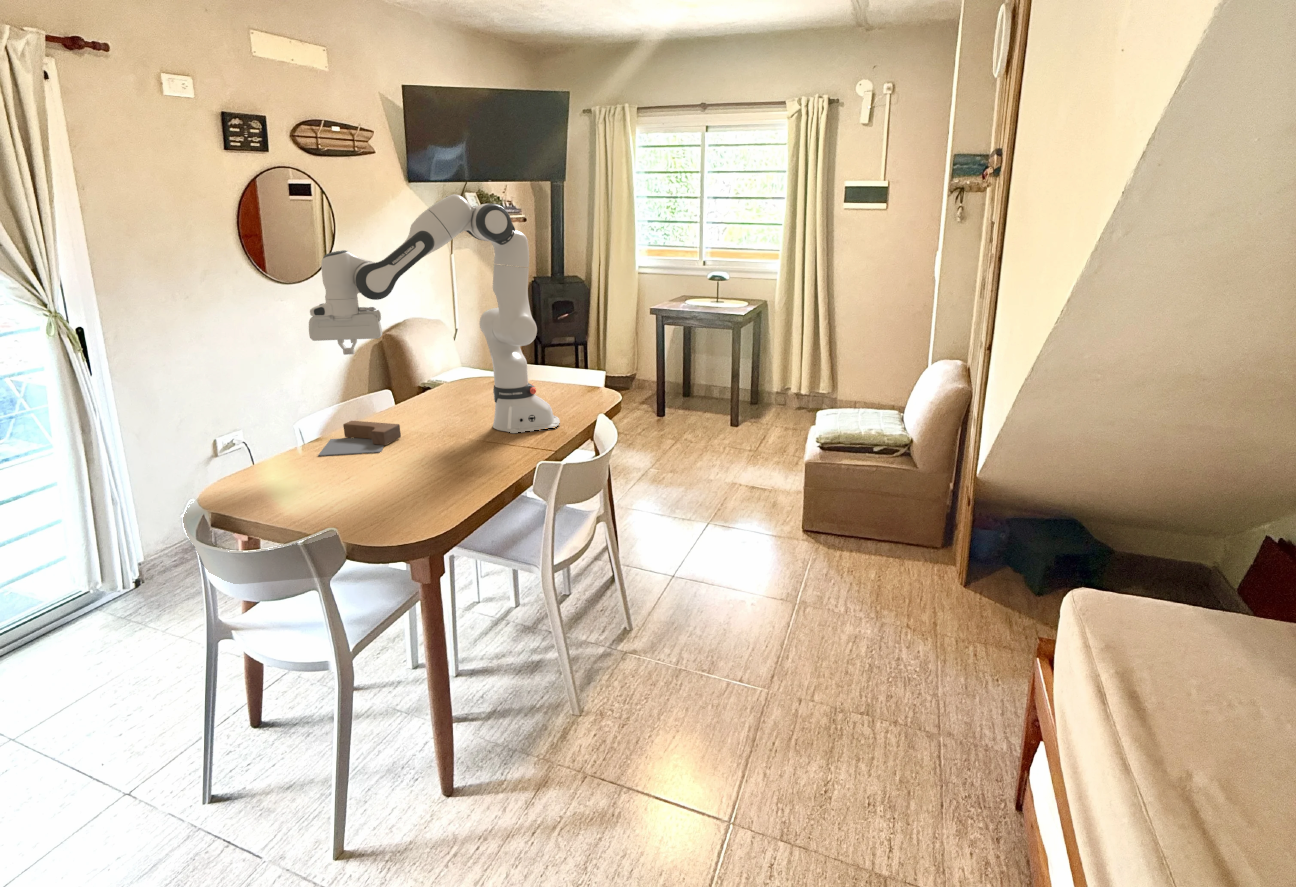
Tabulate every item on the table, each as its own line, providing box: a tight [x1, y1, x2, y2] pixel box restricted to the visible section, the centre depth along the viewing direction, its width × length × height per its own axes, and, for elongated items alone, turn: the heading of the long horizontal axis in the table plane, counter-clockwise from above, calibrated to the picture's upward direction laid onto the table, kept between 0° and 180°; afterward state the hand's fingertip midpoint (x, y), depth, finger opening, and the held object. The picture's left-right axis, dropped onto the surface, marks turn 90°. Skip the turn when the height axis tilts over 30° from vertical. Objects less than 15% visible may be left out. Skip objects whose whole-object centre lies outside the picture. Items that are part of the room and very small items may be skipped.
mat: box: [317, 437, 385, 457], centre depth 231 cm, size 18×16×1 cm
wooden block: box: [342, 420, 402, 446], centre depth 236 cm, size 9×4×18 cm
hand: (349, 354), depth 222 cm, fingers closed
